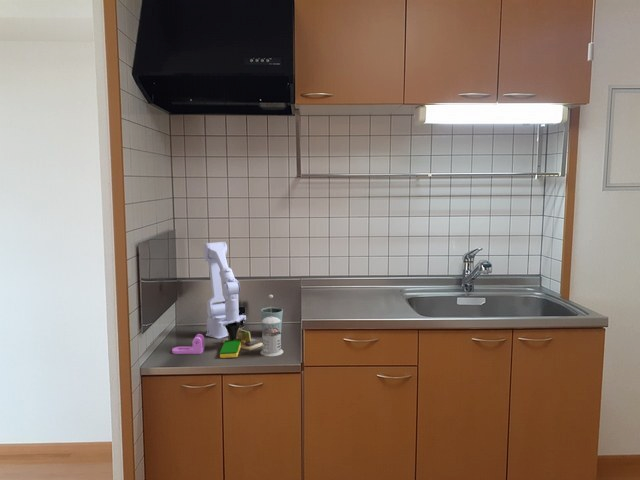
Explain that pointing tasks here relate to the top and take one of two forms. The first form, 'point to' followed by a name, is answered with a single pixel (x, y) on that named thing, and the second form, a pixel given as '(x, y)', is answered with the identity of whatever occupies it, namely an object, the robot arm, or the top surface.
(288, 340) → the top surface
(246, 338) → the strip
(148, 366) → the top surface
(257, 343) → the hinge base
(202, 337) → the bracket
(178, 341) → the top surface
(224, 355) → the dish sponge
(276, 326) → the drinking glass
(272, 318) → the french press
